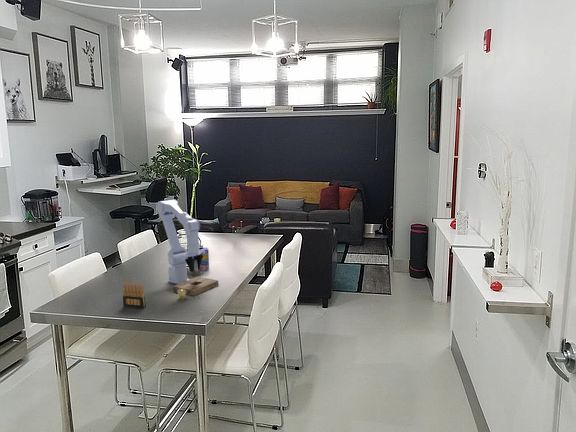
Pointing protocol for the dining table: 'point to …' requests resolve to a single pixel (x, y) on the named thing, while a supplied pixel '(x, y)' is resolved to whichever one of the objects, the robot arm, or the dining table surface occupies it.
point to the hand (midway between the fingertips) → (194, 270)
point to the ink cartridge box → (204, 259)
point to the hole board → (196, 285)
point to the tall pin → (195, 268)
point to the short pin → (181, 294)
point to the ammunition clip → (133, 295)
